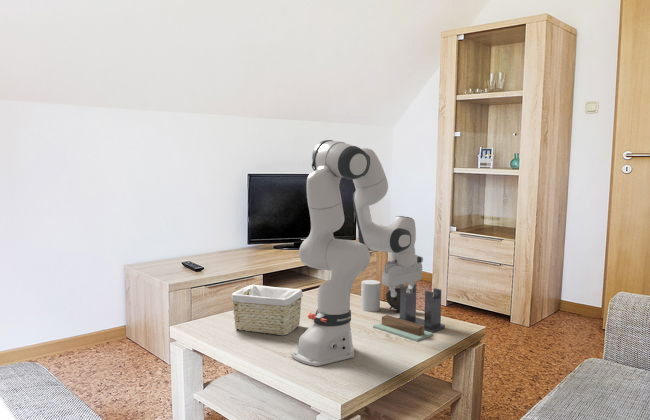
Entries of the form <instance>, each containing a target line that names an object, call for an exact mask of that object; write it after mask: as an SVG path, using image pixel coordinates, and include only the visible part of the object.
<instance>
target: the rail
mask: <svg viewBox="0 0 650 420" xmlns="http://www.w3.org/2000/svg"><path fill="white" fill-rule="evenodd" d="M399 318H400V317H395V316H391V315H388V314H386V315H381V323H382V325H385V326H388V327H391V328H394V329H398V330H401V331H404V332H407V333H410V334H414V335H417V336H421V335H423V334H424V331H425V330H424V326H423V325H420V324H416V323H413V322H410V321H406V320H403V319H399Z"/></svg>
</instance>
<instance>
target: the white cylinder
mask: <svg viewBox="0 0 650 420" xmlns="http://www.w3.org/2000/svg"><path fill="white" fill-rule="evenodd" d="M360 284H361V286H360V287H361V289H360V291H361V294H360V296H361V297H360V298H361V299H360V303H361V304H360V310H361V311H363V312H368V313H370V312H371V313H373V312H374V313H375V312H378V311H380V310H381V281H379V280H377V279H365V280H362V281H361V283H360Z"/></svg>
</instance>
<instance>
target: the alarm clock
mask: <svg viewBox="0 0 650 420" xmlns="http://www.w3.org/2000/svg"><path fill="white" fill-rule="evenodd" d="M401 285H404V286H408V285H406V283H405V284H401ZM395 292H397V297H391V291H390V289H389V288H388V289H387V292H386V295H385V296H386V302H387V304H388V305H389V310H391V309H393V310H395V311H396V313H397V314H398V313H399V311H400V285H396V288H395Z"/></svg>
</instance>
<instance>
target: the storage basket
mask: <svg viewBox="0 0 650 420" xmlns="http://www.w3.org/2000/svg"><path fill="white" fill-rule="evenodd" d="M231 294H232V295H231V301H232V305H233V316H234V317H233V319H234V326H235V328H234V329H235V330H237V329H239V330H238V331H241V330H245V331H244V332H251V331H252V332H251V333H260V334H261V333H262V334H266V333H268V334H269V335H270V334H271V335H277V336H279V335H280V336H286V335H288V334H290V333H291V332H293V331H294V330H295V329H296V328H297V327H299V326H300V324H301V323H300V321H301V320H300V319H301V310H302V309H301V307H302V298H303V295H304V294H303V290H302V289H301V288H297V289H296V288H289V287H275V286H267V285H257V284H250V285H247V286H245V287H242V288H240V289H239V290H236V291H234V292H232V293H231Z"/></svg>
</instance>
